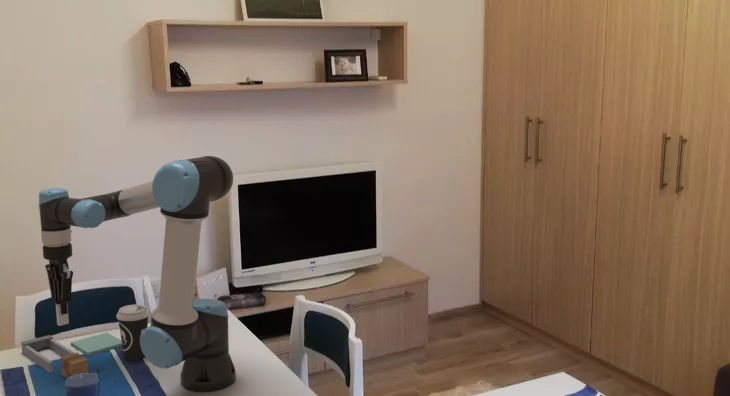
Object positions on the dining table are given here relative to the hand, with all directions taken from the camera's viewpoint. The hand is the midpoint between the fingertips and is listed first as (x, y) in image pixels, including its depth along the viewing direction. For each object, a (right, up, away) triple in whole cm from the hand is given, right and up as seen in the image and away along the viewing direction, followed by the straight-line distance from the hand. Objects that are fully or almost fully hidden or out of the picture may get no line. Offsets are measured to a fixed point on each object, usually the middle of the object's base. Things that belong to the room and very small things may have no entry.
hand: (63, 324), depth 201 cm
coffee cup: (+16, -12, +13) cm, 24 cm away
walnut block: (+4, -15, -2) cm, 15 cm away
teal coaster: (+2, -10, +21) cm, 23 cm away
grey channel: (-8, -12, +10) cm, 18 cm away
